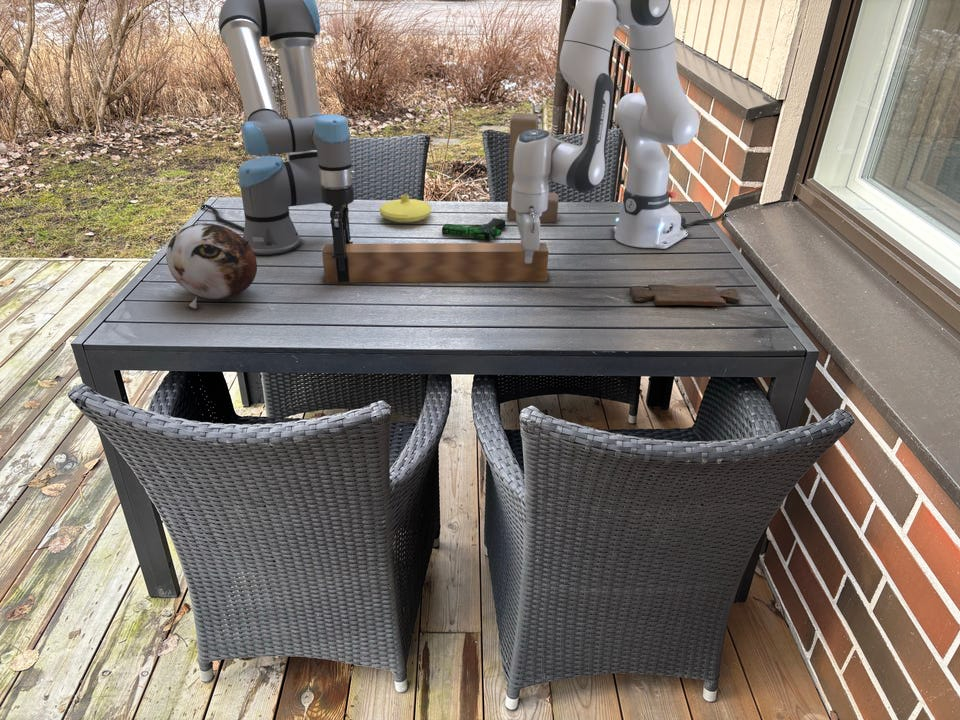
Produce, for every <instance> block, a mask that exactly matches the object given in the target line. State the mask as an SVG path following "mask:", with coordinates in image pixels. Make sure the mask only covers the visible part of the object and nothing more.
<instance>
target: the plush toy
mask: <svg viewBox="0 0 960 720" xmlns="http://www.w3.org/2000/svg"><path fill="white" fill-rule="evenodd" d="M248 242H249V241H246V240H245V239H244V238H243V236H242V235H240V234H239V233H238V232H236V231H234V230H233V229H231V228H229V227H226V226H223V225H220V224H215V223H205V222H204V223H195V224H191V225H188V226H186V227H183V228H182V229H180V230H179V231H177V232H176V233H175V234H174V235H173V237H171V239H170V241H169V243H168V245H167V248H166V254H165V260H166V265H167V268H168V271H169V273H170V275H171V276H172V277H173V279H174V280H175V281H176V282H177V284H178V285H180V286H181V287H182V288H183V289H185V290H186V291H187V292H189V293H191V294H194V295H195V298H194V299H193V300H192V302H190V303H189V304H188V306H189V307H191V308H192V309H197V308H198V307H197V298H198V297H201V298H205V299H210V300H226V299H230V298H233V297H236V296H238V295H241V294H242V293H244V292H245V291H247V290H248V289H249V288H250V286H251V285H252V284H253V282H254V280H255V278H256V275H257V271H258V262H257V257H256V254H254V252H253V250H252V248H251V247H250V245H249V244H248Z"/></svg>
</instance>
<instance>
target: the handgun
mask: <svg viewBox="0 0 960 720" xmlns="http://www.w3.org/2000/svg"><path fill="white" fill-rule="evenodd" d="M505 228H506V220H505V219H503V218H497V217H492V219H491V220H490V221H489V222H488V223H483V224H482V225H479V224H472V225H459V224H453V223H445V224H443V226H442V227H441V235H446V236H454V237H462V238H469V239H470V238H471V239H474V240H479V241H484V242H491V241H492V240H494V239H495V238H497V237H500V236H502V230H504V229H505Z"/></svg>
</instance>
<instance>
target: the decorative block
mask: <svg viewBox="0 0 960 720" xmlns="http://www.w3.org/2000/svg"><path fill="white" fill-rule="evenodd" d="M509 121H510V123H509V151H508V152H509V153H508V154H509V155H508V177H507V178H508V179H507V206H506V207H507V209H506V219H507V220H508V221H516V211H515V210H513V209H512V208H511V196H512V185H513V182H514V173H513V159H514V151H515V145H516V142H517V139H518V136H519V135H520V134H521V133H523V132H525V131H527V130H531V129H532V130H533V129H539V114H537V113H517V112H516V113H513V114H512V116H511V118H510V120H509ZM559 198H560V195H559V193H555V192H551V191H549V196H548V208H547V210H546V211H544V212H542V215H541V216H540V217H539V219H540V223H556V222H557V220H558V215H559V213H558V212H559V200H560V199H559Z"/></svg>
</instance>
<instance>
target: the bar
mask: <svg viewBox="0 0 960 720" xmlns="http://www.w3.org/2000/svg"><path fill="white" fill-rule="evenodd" d="M321 255H322V264H323V275H324V282H325V283H326V284H327V283H328V284H329V283H330V284H331V283H333V284H336V283H341V282H338V276H337V266H336V259H335V258H332V256H334V247H333V243H325V244H324V247H323V249H322V252H321ZM346 255H347V258H348V270H349V282H348V283H451V282H452V283H453V282H456V283H461V282H462V283H463V282H464V283H466V282H468V283H469V282H471V283H473V282H475V283H476V282H547V279H548V265H549V248H548V247H547V243H546V242H540V245H539V250H538V251H534V253H533V257H532V263H525V261H524V256H525V250H524V248H523V244H522V243H521V242H457V243H456V242H452V243H450V242H447V243H446V242H445V243H443V242H442V243H441V242H439V243H437V242H435V243H434V242H433V243H429V242H428V243H425V242H424V243H422V242H421V243H419V242H418V243H414V242H413V243H411V242H410V243H353V244H346Z"/></svg>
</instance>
